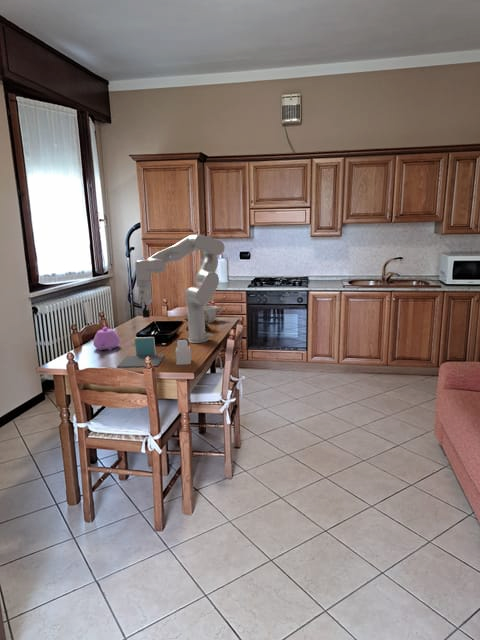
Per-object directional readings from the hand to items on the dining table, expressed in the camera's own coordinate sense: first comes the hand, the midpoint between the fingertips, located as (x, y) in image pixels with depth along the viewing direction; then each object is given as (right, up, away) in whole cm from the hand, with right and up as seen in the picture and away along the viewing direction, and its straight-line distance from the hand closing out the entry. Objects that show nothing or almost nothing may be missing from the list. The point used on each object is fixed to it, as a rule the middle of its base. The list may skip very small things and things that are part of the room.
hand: (146, 317), depth 238 cm
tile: (+1, -20, -4) cm, 21 cm away
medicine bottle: (+22, -23, -18) cm, 37 cm away
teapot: (-25, -18, +11) cm, 33 cm away
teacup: (+31, -3, +68) cm, 75 cm away
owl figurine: (+23, -8, +47) cm, 53 cm away
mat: (+1, -23, -14) cm, 26 cm away
